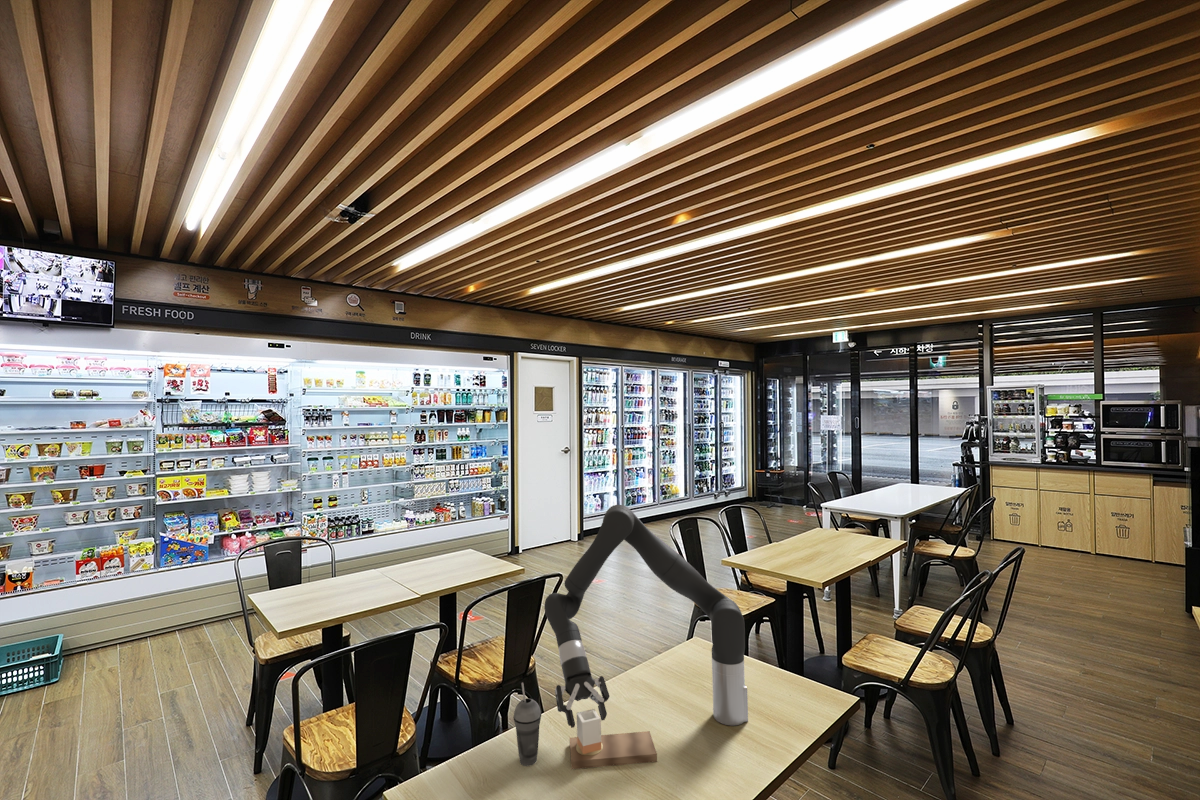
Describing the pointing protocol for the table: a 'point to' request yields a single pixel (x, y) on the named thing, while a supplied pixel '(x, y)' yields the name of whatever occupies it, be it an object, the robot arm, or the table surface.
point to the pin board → (615, 751)
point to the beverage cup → (527, 729)
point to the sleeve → (589, 731)
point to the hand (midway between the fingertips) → (588, 723)
